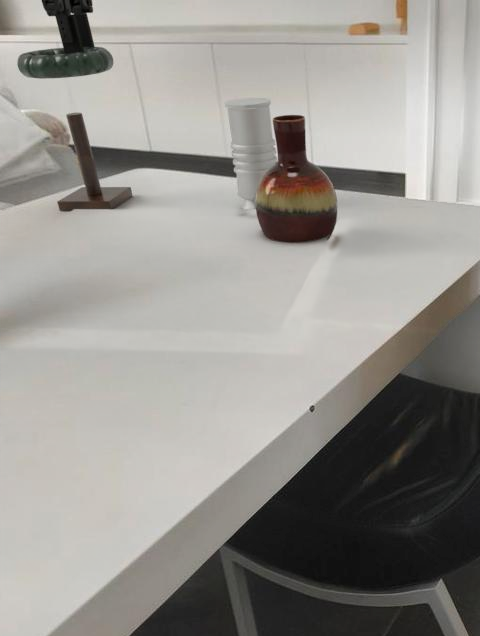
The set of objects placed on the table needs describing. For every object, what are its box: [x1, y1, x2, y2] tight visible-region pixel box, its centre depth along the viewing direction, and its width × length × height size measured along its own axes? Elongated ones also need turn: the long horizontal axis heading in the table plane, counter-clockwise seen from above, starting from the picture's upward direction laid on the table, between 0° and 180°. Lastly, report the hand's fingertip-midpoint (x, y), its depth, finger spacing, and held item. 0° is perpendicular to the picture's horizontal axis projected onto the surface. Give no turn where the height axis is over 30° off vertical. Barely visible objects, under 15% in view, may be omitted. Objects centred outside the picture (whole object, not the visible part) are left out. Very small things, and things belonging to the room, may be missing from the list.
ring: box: [17, 46, 114, 80], centre depth 100 cm, size 13×13×3 cm
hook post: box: [56, 112, 133, 212], centre depth 112 cm, size 9×9×14 cm
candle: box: [224, 97, 278, 210], centre depth 106 cm, size 7×7×15 cm
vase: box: [255, 114, 338, 243], centre depth 91 cm, size 11×11×15 cm
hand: (83, 66), depth 105 cm, fingers closed on ring, 3 cm apart
